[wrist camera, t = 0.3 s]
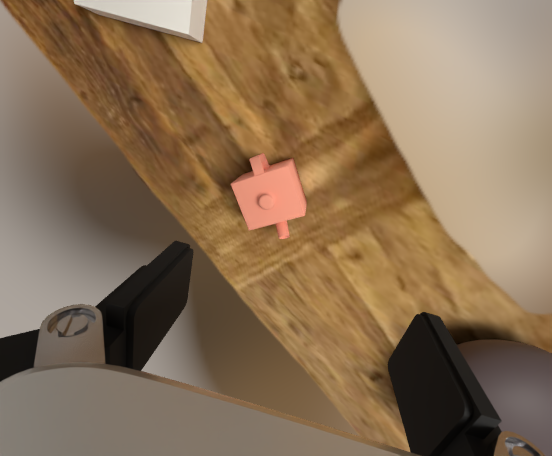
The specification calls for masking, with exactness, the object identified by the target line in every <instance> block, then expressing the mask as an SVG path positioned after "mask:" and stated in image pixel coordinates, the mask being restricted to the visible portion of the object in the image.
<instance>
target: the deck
mask: <svg viewBox="0 0 552 456" xmlns="http://www.w3.org/2000/svg"><path fill="white" fill-rule="evenodd" d="M74 4H76V5H78V6H81V7H83V8H85V9H87V10H90V11H92V12H94V13H96V14H98V15H101V16H105V17H109V18H112V19H116V20H120V21H124V22H127V23H131V24H135V25H138V26H142V27H146V28H149V29H153V30H157V31H160V32H164V33H168V34H172V35H175V36H179V37H183V38H186V39H190V40H194V41H197V42H201V43H202V42H203V33H204V24H205V15H206V6H207V0H74Z"/></svg>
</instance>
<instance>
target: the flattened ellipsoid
mask: <svg viewBox="0 0 552 456" xmlns="http://www.w3.org/2000/svg"><path fill="white" fill-rule="evenodd" d="M457 346H458V348H459V350H460V352H461V353H462V355H463V357H464V358H465V360H466V362H467V363H468V365H469V367H470V368H471V370H472V372H473V373H474V375H475V377H476V378H477V380H478V382H479V383H480V385H481V387H482V388H483V390H484V392H485V394H486V395H487V397H488V399H489V400H490V402H491V404H492V405H493V407H494V409H495V410H496V412H497V414H498V415H499V417H500V419H501V420H502V421H501V422H500V423H499V424H498V426H499V428H500V429H501V431H502V432H504V431H510V432H514V433H516V434H518V435H520V436H522V437H524V438H525V439H527V440H528V441H530V442H531V443H533V444H534V445H535V446H536V447H537V448H538V449H539V450H541V451H542V452H543V453H544V455H545V456H552V353H549V352H547V351H545V350H543V349H540V348H538V347H535V346H532V345H528V344H524V343H521V342H514V341H506V340H497V339H491V340H475V341H469V342H464V343H461V344H457Z"/></svg>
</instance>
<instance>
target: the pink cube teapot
mask: <svg viewBox="0 0 552 456" xmlns="http://www.w3.org/2000/svg"><path fill="white" fill-rule="evenodd" d="M249 160H250V163H251V166H252V169H253V171H251V172H248V173H245V174H242V175H241V176H240V177H238V178H237V179H236V180H235V181H233V182H232V183H231V186H232V189H233V191H234V194H235V196H236V199H237V201H238V204H239V206H240V209H241V211H242V214H243V216H244V219H245V221H246V224H247V226H248V229H249V230H252V229H256V228H260V227H264V226H268V225H272V224H275V223H276V228H277V232H278V237H279V239H285V238H288V237H289V231H288V225H287V220H290V219H294V218H297V217H301V216H305V212H306V204H307V201H306V197H305V194H304V191H303V188H302V184H301V181H300V178H299V175H298V171H297V168H296V165H295V162H294V158H291V159H288V160H285V161H282V162H278V163H275V164H272V165H269V164H268V162H267V159H266V157H265V155H264V153H263V154H260V155H257V156H254V157H252V158H250V159H249Z"/></svg>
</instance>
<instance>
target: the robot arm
mask: <svg viewBox="0 0 552 456" xmlns="http://www.w3.org/2000/svg"><path fill="white" fill-rule="evenodd" d="M192 258H193V249H191V248H190V245H189V244H186V243H182V242H179V241H174V242H173V243H172V244H171V245H170V246H169V247H167V248H166V249H165V250H164V251H163V252H162V253H161V254H160V255H159V256H157V257H156V258H155V259H154V260H153V261H152V262H151V263H149V264H148V265H147V266H146V265H145V266H142V267H141V268H139V269H138V270H137V271H136V272H135V273H133V274H132V275H131V276H130V277H129V278H128V279H127V280H125V281H124V282H123V283H122V284H121V285H120V286H118V287H117V288H116V289H115V290H114V291H113V292H112V293H110V294H109V295H108V296H107V297H106V298H105V299H103V300H102V301H101V302H100V303H99V304H98V305H97V306H95V307H94V306H91V305H85V304H78V305H71V306H67V307H64V308H61V309H59V310H57V311H55V312H53V313H51V314H50V315H48V316H47V317H46V319H45V320H44V321H43V322H42V324H41V326H40V329H38V330H33V331H29V332H25V333H20V334H17V335H12V336H8V337H4V338H0V456H545V455H544V453H543V452H542V451H541V450H539V449H538V448H537V447H536V446H535V445H534V444H533V443H531V442H530V441H528V440H527V439H525V438H524V437H522V436H520V435H518V434H516V433H514V432H510V431H504V432H502V431H501V429H500V428H499V426H498V424H499V423H500V422H501V421H502V420H501V419H500V417H499V415H498V414H497V412H496V410H495V409H494V407H493V405H492V404H491V402H490V400H489V399H488V397H487V395H486V394H485V392H484V390H483V388H482V387H481V385H480V383H479V382H478V380H477V378H476V377H475V375H474V373H473V372H472V370H471V368H470V367H469V365H468V363H467V362H466V360H465V358H464V357H463V355H462V353H461V352H460V350H459V348H458V346H457V345H456V343H455V341H454V340H453V338H452V336H451V335H450V333H449V331H448V330H447V328H446V326H445V325H444V323H443V321H442V320H441V318H440V317H439V316H436V315H433V314H429V313H426V312H422V313H421V314H420V315H419V314H417V315H416V316H415V317H414V319H413V320H412V322H411V324H410V325H409V327H408V329H407V330H406V332H405V334H404V335H403V337H402V339H401V340H400V342H399V344H398V345H397V347H396V349H395V350H394V352H393V354H392V356H391V357H390V359H389V362H388V370H389V374H390V377H391V381H392V385H393V389H394V392H395V396H396V400H397V403H398V407H399V411H400V414H401V418H402V422H403V425H404V429H405V433H406V436H407V440H408V444H409V447H410V451H411V452H408V451H404V450H401V449H398V448H395V447H392V446H388V445H385V444H382V443H379V442H376V441H372V440H369V439H366V438H363V437H360V436H357V435H353V434H350V433H347V432H344V431H340V430H337V429H334V428H330V427H327V426H324V425H321V424H318V423H314V422H311V421H308V420H305V419H301V418H298V417H295V416H291V415H288V414H285V413H282V412H279V411H275V410H272V409H269V408H266V407H262V406H259V405H255V404H252V403H249V402H246V401H242V400H239V399H236V398H232V397H229V396H225V395H222V394H219V393H216V392H212V391H209V390H205V389H202V388H199V387H195V386H192V385H189V384H186V383H182V382H179V381H175V380H171V379H168V378H164V377H160V376H157V375H153V374H150V373H147V372H143V371H141V370H142V368H143V367H144V366H145V364H146V363H147V361H148V360H149V358H150V357H151V355H152V354H153V353H154V351H155V350H156V348H157V347H158V345H159V344H160V342H161V341H162V340H163V338H164V337H165V335H166V334H167V332H168V331H169V329H170V328H171V326H172V325H173V324H174V322H175V321H176V319H177V318H178V316H179V315H180V313H181V312H182V310H183V309H184V307H185V305H186V303H187V298H188V290H189V282H190V274H191V266H192Z"/></svg>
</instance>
